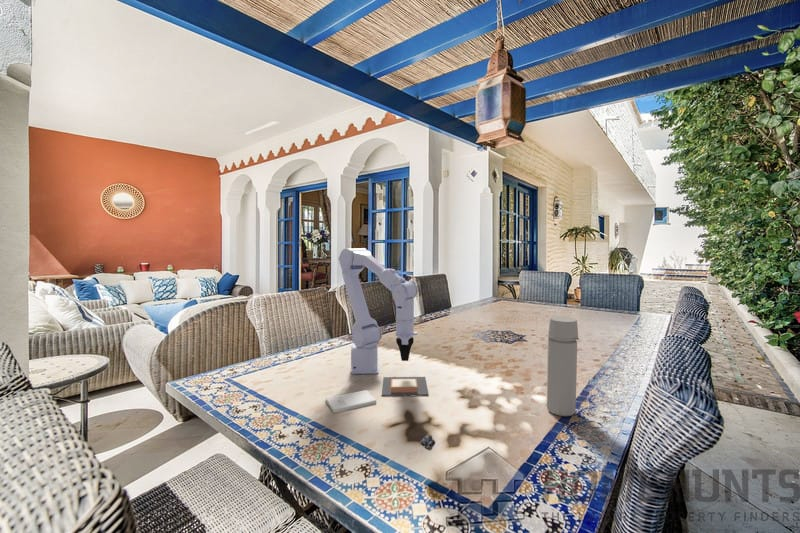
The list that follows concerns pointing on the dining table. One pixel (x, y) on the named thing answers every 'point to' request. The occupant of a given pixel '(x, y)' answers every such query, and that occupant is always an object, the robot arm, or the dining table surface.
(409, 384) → the terracotta tile
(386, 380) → the mat
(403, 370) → the dining table surface
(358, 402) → the external hard drive
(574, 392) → the water bottle
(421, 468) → the dining table surface
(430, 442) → the blueberries
